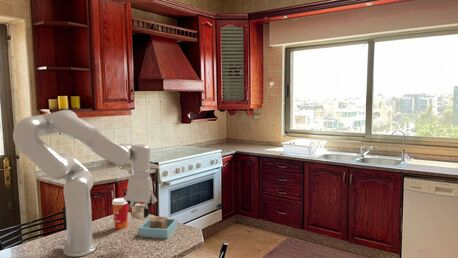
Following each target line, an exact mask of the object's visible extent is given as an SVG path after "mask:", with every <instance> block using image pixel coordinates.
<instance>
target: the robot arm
mask: <svg viewBox="0 0 458 258" xmlns="http://www.w3.org/2000/svg"><path fill="white" fill-rule="evenodd" d="M55 133H57V134H58V133H60V134H62V135H64V136H66V137H68V138H70V139H71V140H74V141H75V142H77V143H79V144H81V145H83V146H84V147H86V148H87V149H88V150H90V151H91V152H93V153H94V154H95V155H96V156H99V157H101V158H102V159H104V160H106V161H108V162H109V163H112V164H114V165H117V166H122V165H125V164H127V163H128V162H129V161H131V164H130V166H131V169H130V170H128V174H129V175H130V176H129V177H128V183H127V188H126V194H125V195H124V196H123V198H124V200H125V201H127V203H128V206H129V207H130V215H131V217H132V206H134V205H135V204H137V203H143V204H144V205H145V209H144V219H147V217H148V216H149V215H150V207H152V206H153V205H154V204H155V203H157V201H158V199H157V197H156V196H155V195H154V187H153V186H154V185H153V181H152V177H151V173H150V171H151V169H150V168H151V147H150V146H149V145H148V144H130V143H119V144H118V143H116V142H114V141H112V140H110V139H109V138H108V137H107V136H105V135H104V134H103V133H102V132H101V131H100V129H99V128H98V127H96V126H95V125H92V124H91V123H89V122H87V121H85V120H84V119H82V118H80V117H79V116H78V115H77V113H76V112H74V111H73V110H70V109H63V110H59V111H58V110H57V111H55V112H50V113H45V114H38V115H33V116H26V117H24V118H22V119H20V120H19V121H18V122H17V123H16V124H15V126H14V128H13V132H12V138H13V142H14V145H15V147H16V148H17V149H18V151H19V152H20V153H21V154H23V156H24V157H26V158H27V159H28V160H29V161H31V162H32V163H33V165H35V166H36V167H37V168H38V169H40V170H41V172H43V173H44V174H45V175H46V176H47V177H48V178H50V179H52V180H55V181H60V180H62V179H63V180H64V181H65V182H64V186H63V196H64V197H63V198H64V204H65V219H66V220H65V221H66V237H61V238H60V242H59V245H61V246H64V248H63V255H64V256H67V257H71V258H73V257H74V258H75V257H83V256H86V255H90V254H92V253H93V252H94V251H95V250H97V249H98V244H97V243H96V242H95V241H93V219H92V217H93V216H92V215H93V214H92V202H91V201H92V199H91V189H92V187H93V186H94V183H95V179H94V176H93V174H92V172H90V171H89V169H87V168H86V167H85V166H84V165H83V164H82V163H80V161H79V160H77V159H76V158H75V157H74V156H72V155H71V154H69V153H66V152H60V153H58V152H57V151H56V150H54V149H53V148H52V147H51V146H50V145H49V144H47V142H45V141H43V140H42V139H41V137H42V136H46V135H50V134H55Z"/></svg>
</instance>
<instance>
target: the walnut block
mask: <svg viewBox="0 0 458 258" xmlns="http://www.w3.org/2000/svg"><path fill="white" fill-rule="evenodd" d="M167 218H168V216H156V215H155V216H154V217H153V219H151V220H150V228H157V229H167Z"/></svg>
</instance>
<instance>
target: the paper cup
mask: <svg viewBox="0 0 458 258" xmlns="http://www.w3.org/2000/svg"><path fill="white" fill-rule="evenodd" d="M111 204H112V212H113V221H114V223H113V224H114V230H123V229H126V228H127V227H128V211H129V204H128V203H127V201H125V200H124V197H118V198H114V199H113V200H112V202H111Z"/></svg>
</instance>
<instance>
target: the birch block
mask: <svg viewBox="0 0 458 258" xmlns="http://www.w3.org/2000/svg"><path fill="white" fill-rule="evenodd" d="M144 209H145V205H144V203H140V202H136V203H135V205H134V206H132V216H131V219H135V220H145V218H144Z"/></svg>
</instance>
